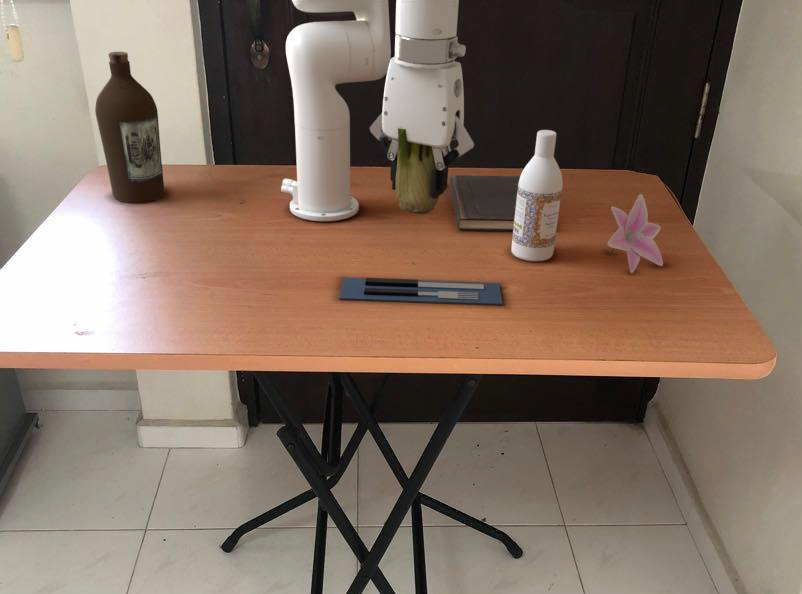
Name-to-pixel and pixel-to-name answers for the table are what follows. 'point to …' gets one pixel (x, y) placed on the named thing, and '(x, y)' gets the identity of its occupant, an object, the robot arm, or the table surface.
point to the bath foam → (538, 202)
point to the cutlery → (421, 285)
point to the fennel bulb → (414, 176)
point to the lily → (636, 234)
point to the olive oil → (129, 135)
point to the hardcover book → (484, 202)
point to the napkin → (355, 291)
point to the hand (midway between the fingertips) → (418, 189)
